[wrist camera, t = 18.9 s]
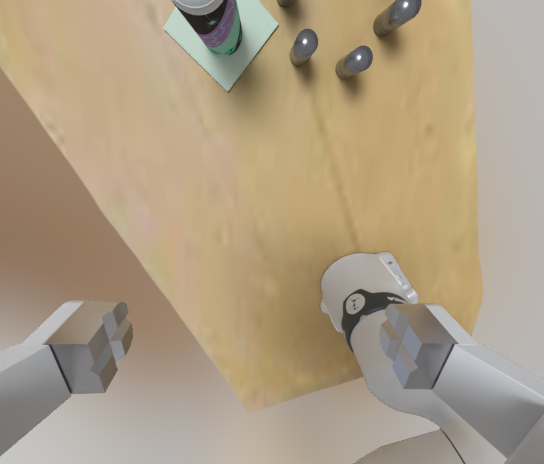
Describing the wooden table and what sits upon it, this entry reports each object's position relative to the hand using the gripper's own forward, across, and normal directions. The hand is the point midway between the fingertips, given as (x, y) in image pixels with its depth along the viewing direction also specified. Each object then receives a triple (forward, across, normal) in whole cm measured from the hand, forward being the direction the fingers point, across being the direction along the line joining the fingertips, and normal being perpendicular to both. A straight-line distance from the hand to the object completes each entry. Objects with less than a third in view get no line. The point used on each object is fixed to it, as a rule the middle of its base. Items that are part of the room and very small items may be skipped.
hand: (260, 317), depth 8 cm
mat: (+37, -6, +16) cm, 41 cm away
